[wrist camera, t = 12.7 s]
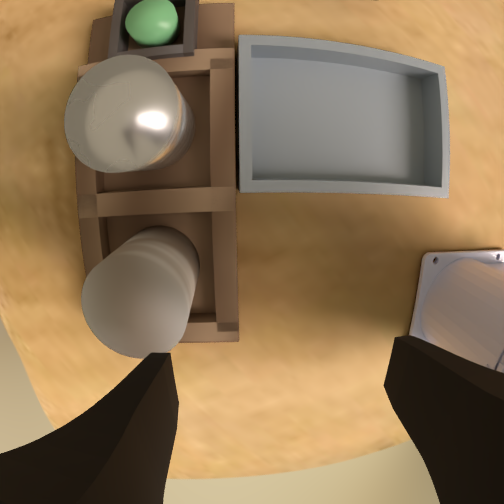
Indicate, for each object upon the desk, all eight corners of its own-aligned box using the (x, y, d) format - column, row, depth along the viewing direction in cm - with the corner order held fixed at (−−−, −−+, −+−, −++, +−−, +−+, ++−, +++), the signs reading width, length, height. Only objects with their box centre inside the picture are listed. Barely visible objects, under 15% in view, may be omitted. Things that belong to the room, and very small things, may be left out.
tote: (424, 74, 16) (444, 66, 14) (426, 193, 18) (448, 198, 16) (237, 50, 15) (238, 34, 13) (238, 189, 18) (239, 192, 15)
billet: (196, 87, 15) (180, 48, 9) (195, 168, 16) (177, 169, 10) (117, 94, 15) (68, 65, 9) (115, 172, 16) (63, 177, 10)
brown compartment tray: (234, 5, 15) (238, -64, 8) (238, 333, 20) (244, 408, 13) (99, 20, 14) (51, -30, 7) (112, 333, 19) (73, 399, 13)
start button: (181, 9, 13) (177, -6, 12) (179, 47, 14) (174, 35, 12) (136, 15, 13) (127, 1, 11) (132, 53, 14) (123, 42, 12)
